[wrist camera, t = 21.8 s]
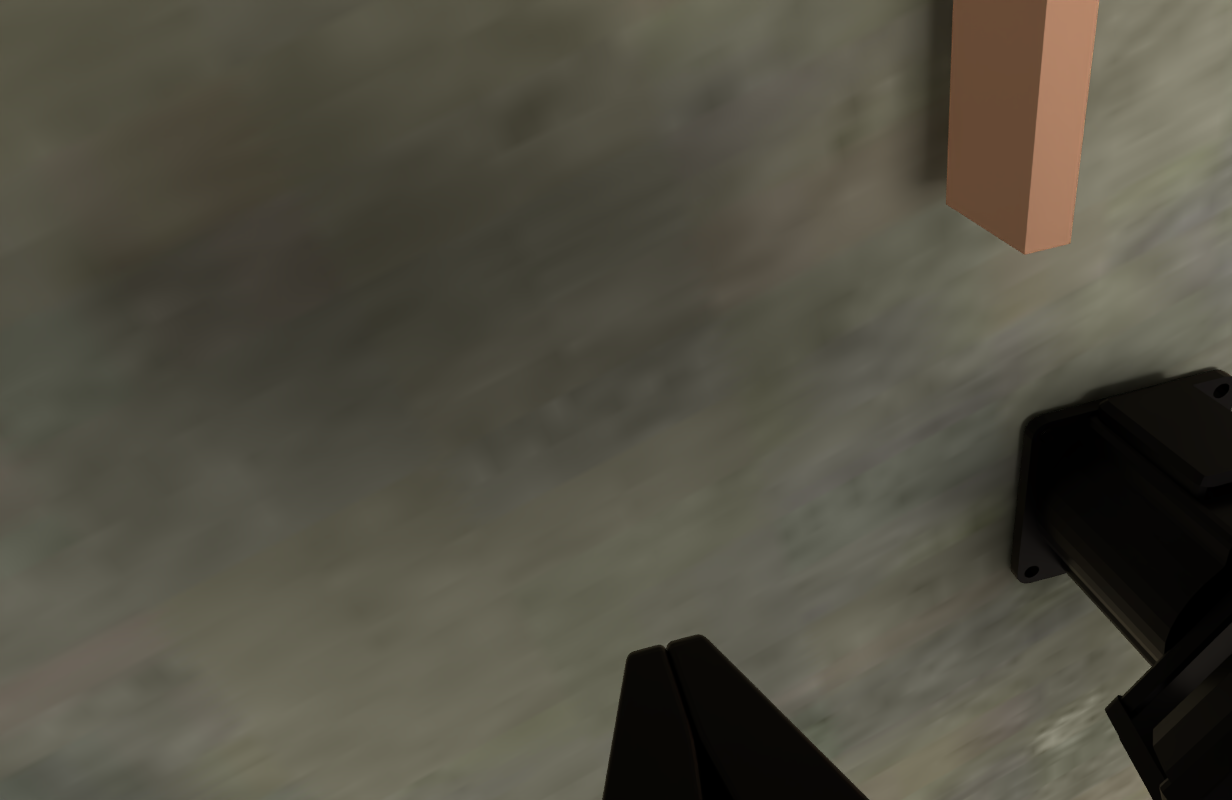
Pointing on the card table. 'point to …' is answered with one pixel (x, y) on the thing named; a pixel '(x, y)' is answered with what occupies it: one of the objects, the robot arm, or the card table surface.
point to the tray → (1019, 115)
